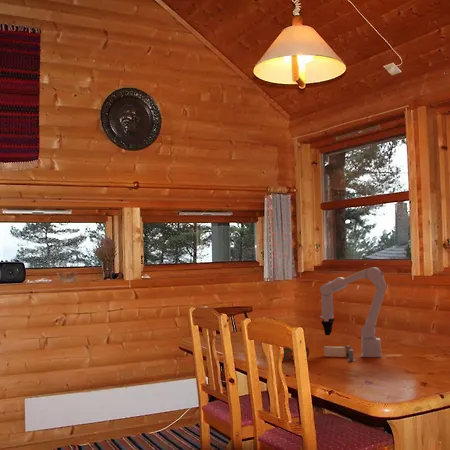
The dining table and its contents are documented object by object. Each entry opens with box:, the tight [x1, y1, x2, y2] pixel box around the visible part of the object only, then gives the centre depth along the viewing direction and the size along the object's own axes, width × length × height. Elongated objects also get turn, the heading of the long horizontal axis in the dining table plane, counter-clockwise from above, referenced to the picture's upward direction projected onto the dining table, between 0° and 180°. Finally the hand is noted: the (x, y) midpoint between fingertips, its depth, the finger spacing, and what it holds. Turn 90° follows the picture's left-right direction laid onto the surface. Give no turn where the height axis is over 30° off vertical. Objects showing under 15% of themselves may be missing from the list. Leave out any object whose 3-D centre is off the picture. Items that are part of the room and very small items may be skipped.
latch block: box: [347, 348, 356, 363], centre depth 297 cm, size 3×5×5 cm, turn 165°
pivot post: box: [344, 344, 352, 359], centre depth 307 cm, size 4×4×6 cm
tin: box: [282, 345, 310, 361], centre depth 302 cm, size 15×3×8 cm, turn 62°
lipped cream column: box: [323, 345, 346, 358], centre depth 309 cm, size 10×2×5 cm, turn 75°
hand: (328, 334), depth 316 cm, fingers open, 7 cm apart
